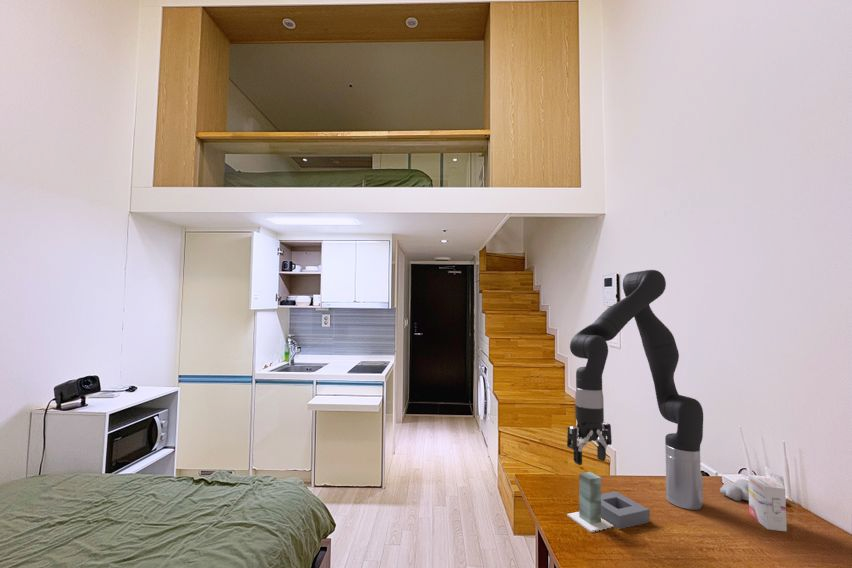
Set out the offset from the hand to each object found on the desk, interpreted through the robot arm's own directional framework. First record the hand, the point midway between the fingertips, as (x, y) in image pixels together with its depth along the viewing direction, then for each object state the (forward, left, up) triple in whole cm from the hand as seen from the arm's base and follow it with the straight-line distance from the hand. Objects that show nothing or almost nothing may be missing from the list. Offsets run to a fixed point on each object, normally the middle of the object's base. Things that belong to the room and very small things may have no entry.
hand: (589, 462), depth 109 cm
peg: (0, 0, -16) cm, 16 cm away
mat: (0, 0, -16) cm, 16 cm away
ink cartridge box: (-49, +17, -17) cm, 55 cm away
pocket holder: (-10, 0, -16) cm, 19 cm away
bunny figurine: (-62, +5, -17) cm, 64 cm away
